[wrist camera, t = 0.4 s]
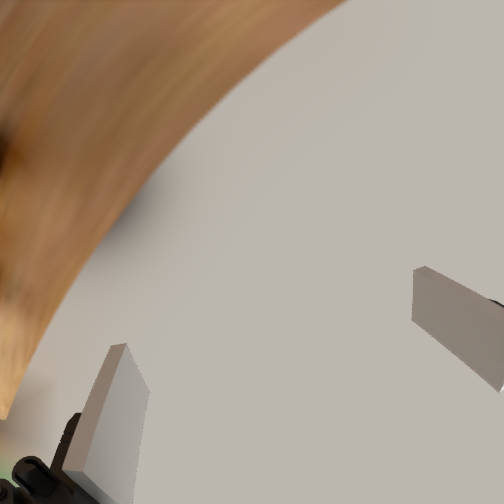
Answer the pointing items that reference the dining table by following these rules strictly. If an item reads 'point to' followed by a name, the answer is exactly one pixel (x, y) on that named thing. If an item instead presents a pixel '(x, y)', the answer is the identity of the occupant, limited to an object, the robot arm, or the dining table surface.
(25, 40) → the dining table surface
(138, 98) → the dining table surface
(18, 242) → the dining table surface
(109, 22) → the dining table surface
